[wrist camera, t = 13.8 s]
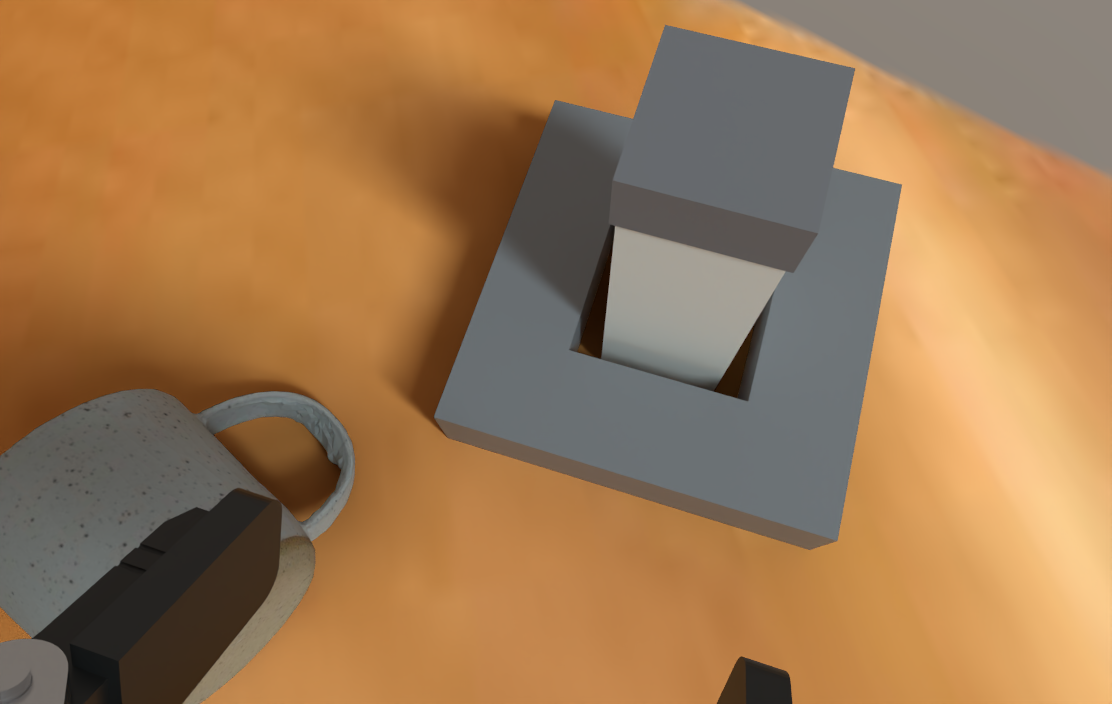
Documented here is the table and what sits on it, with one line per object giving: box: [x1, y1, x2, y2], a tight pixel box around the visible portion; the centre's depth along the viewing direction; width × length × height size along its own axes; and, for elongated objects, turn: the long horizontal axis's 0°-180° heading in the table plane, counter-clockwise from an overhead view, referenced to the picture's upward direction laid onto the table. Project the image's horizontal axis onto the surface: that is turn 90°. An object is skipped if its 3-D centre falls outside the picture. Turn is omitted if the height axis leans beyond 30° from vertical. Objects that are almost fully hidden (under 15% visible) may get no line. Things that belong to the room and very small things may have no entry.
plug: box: [601, 25, 855, 392], centre depth 24 cm, size 5×5×13 cm
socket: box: [434, 100, 902, 550], centre depth 28 cm, size 14×14×4 cm
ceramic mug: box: [0, 389, 355, 704], centre depth 24 cm, size 11×8×8 cm
